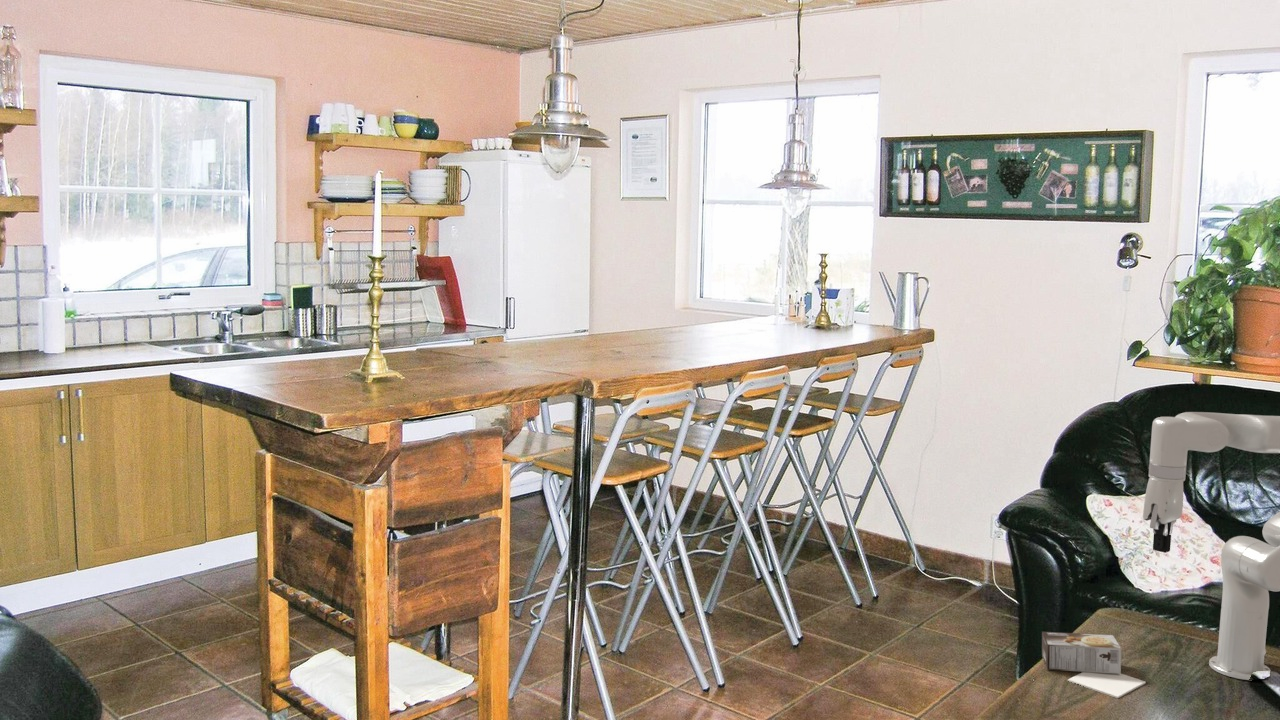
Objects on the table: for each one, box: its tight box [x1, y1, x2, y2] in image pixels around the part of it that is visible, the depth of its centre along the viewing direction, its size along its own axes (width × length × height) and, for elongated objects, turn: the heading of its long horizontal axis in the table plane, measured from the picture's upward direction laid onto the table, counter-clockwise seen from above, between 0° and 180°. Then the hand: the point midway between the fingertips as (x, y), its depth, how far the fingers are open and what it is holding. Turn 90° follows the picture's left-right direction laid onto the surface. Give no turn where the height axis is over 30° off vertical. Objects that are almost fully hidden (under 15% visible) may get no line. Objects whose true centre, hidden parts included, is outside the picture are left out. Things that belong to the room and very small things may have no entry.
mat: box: [1067, 672, 1147, 699], centre depth 246 cm, size 13×12×1 cm
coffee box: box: [1041, 631, 1122, 674], centre depth 255 cm, size 9×6×16 cm
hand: (1161, 550), depth 249 cm, fingers closed
